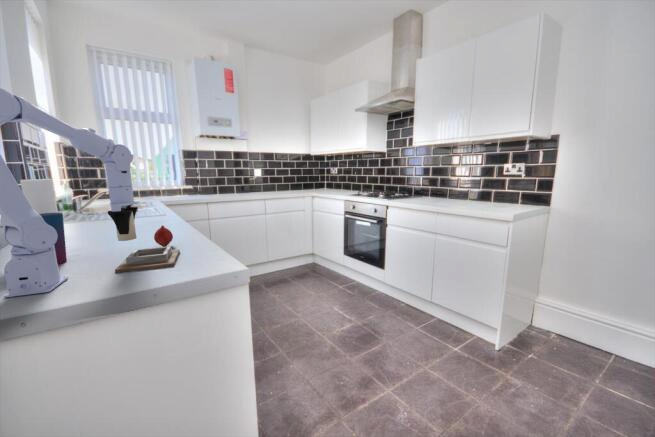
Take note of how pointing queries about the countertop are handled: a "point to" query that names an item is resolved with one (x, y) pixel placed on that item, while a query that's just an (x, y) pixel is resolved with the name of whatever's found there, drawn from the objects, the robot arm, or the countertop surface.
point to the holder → (149, 259)
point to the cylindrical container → (40, 195)
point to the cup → (58, 225)
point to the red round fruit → (163, 236)
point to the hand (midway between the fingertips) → (126, 232)
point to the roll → (131, 231)
